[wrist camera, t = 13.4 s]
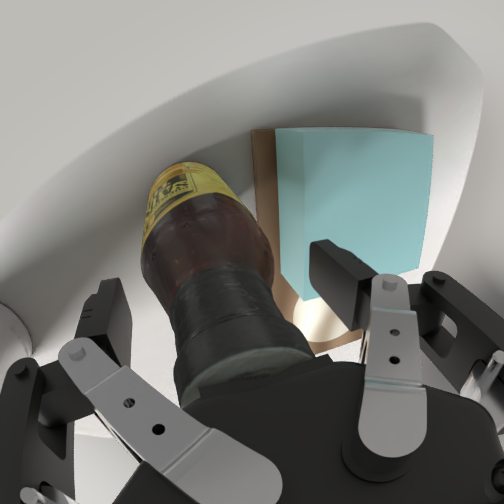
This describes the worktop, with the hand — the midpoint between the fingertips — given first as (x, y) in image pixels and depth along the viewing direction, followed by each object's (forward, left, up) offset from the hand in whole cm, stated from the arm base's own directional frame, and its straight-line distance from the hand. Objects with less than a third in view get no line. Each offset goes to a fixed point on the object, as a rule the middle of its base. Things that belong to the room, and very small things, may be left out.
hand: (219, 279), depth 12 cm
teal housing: (+14, -2, -13) cm, 19 cm away
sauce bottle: (0, 0, -14) cm, 14 cm away
